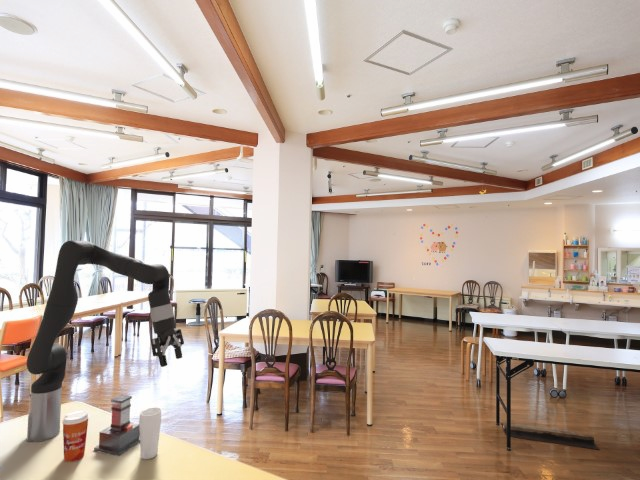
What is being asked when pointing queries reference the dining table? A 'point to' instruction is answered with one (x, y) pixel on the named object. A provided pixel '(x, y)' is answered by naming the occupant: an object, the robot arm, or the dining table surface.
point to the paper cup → (75, 435)
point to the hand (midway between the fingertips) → (172, 362)
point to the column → (120, 412)
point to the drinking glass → (149, 432)
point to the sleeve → (118, 440)
